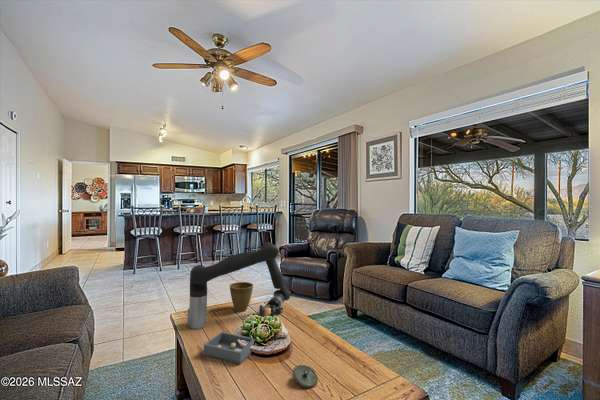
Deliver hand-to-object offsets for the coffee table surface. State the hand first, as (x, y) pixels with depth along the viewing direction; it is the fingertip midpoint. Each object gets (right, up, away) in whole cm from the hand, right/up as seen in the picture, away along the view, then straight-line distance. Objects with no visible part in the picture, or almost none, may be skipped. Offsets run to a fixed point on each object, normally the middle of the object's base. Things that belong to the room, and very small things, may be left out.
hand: (266, 315), depth 152 cm
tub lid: (0, -11, +3) cm, 12 cm away
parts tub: (-15, -10, -17) cm, 25 cm away
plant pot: (-21, -11, +35) cm, 42 cm away
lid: (+20, -12, -36) cm, 43 cm away
